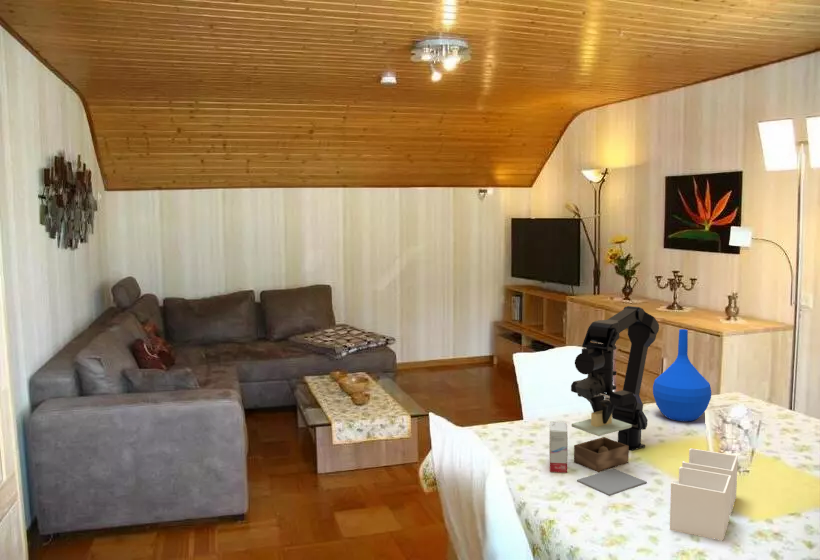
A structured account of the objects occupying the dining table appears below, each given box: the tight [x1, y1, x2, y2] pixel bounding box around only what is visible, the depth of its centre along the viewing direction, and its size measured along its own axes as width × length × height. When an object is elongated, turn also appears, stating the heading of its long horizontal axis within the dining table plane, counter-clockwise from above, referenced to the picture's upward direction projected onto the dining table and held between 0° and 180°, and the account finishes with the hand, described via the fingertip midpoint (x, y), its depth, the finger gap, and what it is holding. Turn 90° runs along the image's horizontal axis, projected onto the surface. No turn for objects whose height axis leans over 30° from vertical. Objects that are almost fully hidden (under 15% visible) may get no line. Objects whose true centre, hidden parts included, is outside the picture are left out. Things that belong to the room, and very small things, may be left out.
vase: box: [652, 328, 712, 422], centre depth 234 cm, size 18×18×30 cm
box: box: [573, 436, 630, 473], centre depth 196 cm, size 12×9×5 cm
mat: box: [576, 467, 648, 497], centre depth 182 cm, size 14×11×1 cm
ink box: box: [548, 421, 569, 474], centre depth 193 cm, size 9×5×12 cm, turn 168°
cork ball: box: [598, 446, 608, 453], centre depth 198 cm, size 3×3×3 cm
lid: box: [571, 410, 632, 437], centre depth 194 cm, size 13×10×5 cm
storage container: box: [669, 448, 739, 541], centre depth 163 cm, size 25×11×11 cm, turn 149°
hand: (601, 422), depth 195 cm, fingers closed on lid
